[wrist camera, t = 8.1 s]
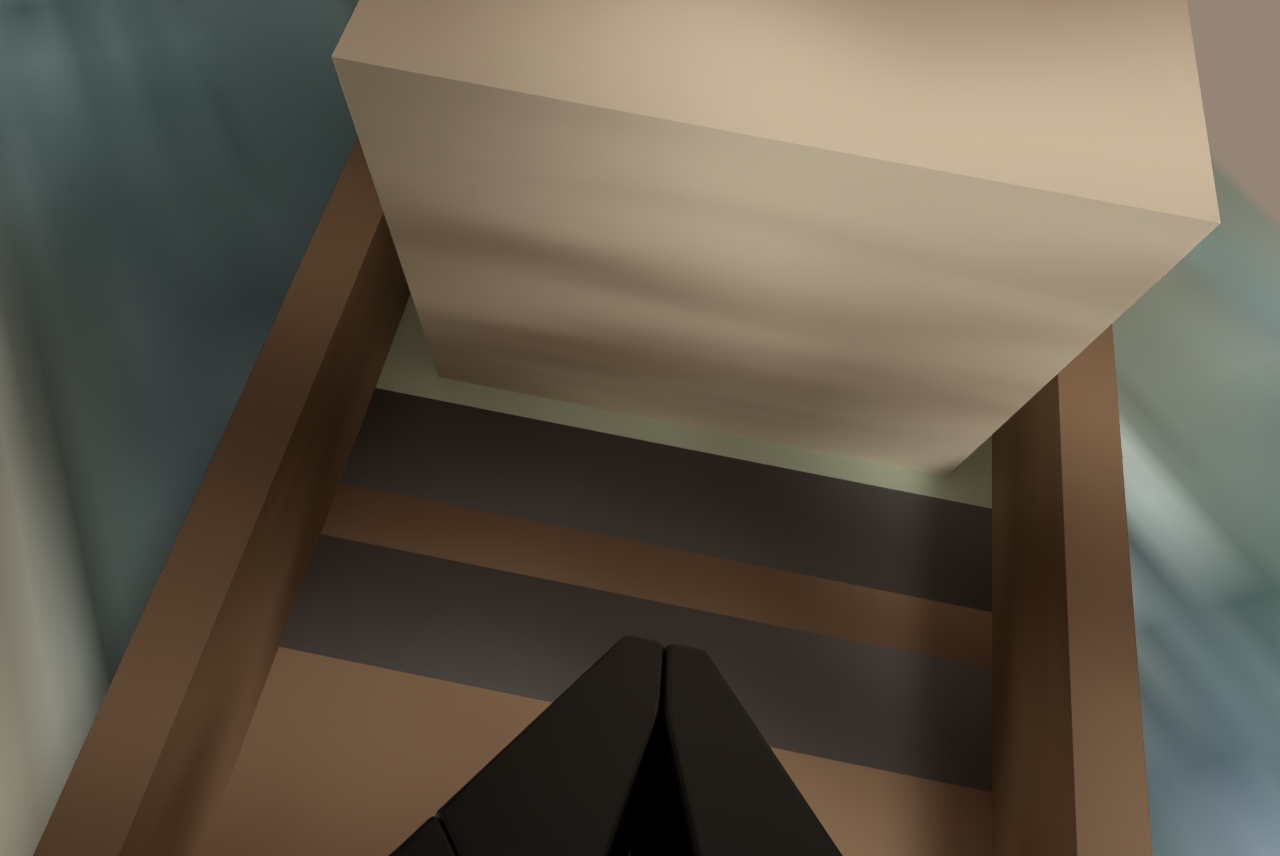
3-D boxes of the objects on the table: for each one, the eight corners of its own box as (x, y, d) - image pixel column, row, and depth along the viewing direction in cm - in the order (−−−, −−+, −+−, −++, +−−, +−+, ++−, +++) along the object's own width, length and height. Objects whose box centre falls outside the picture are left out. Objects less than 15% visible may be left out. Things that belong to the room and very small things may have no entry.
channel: (1033, 1514, 11) (1224, 1812, 7) (-5, 1279, 11) (-245, 1471, 8) (1013, 176, 20) (1092, 60, 17) (466, 75, 21) (445, -58, 18)
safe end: (1019, 534, 16) (1122, 468, 13) (339, 401, 17) (282, 306, 14) (1013, 176, 20) (1092, 60, 17) (466, 75, 21) (445, -58, 18)
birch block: (946, 476, 16) (1219, 223, 9) (439, 377, 16) (330, 56, 9) (955, 165, 19) (1157, -190, 12) (536, 87, 19) (510, -303, 13)
